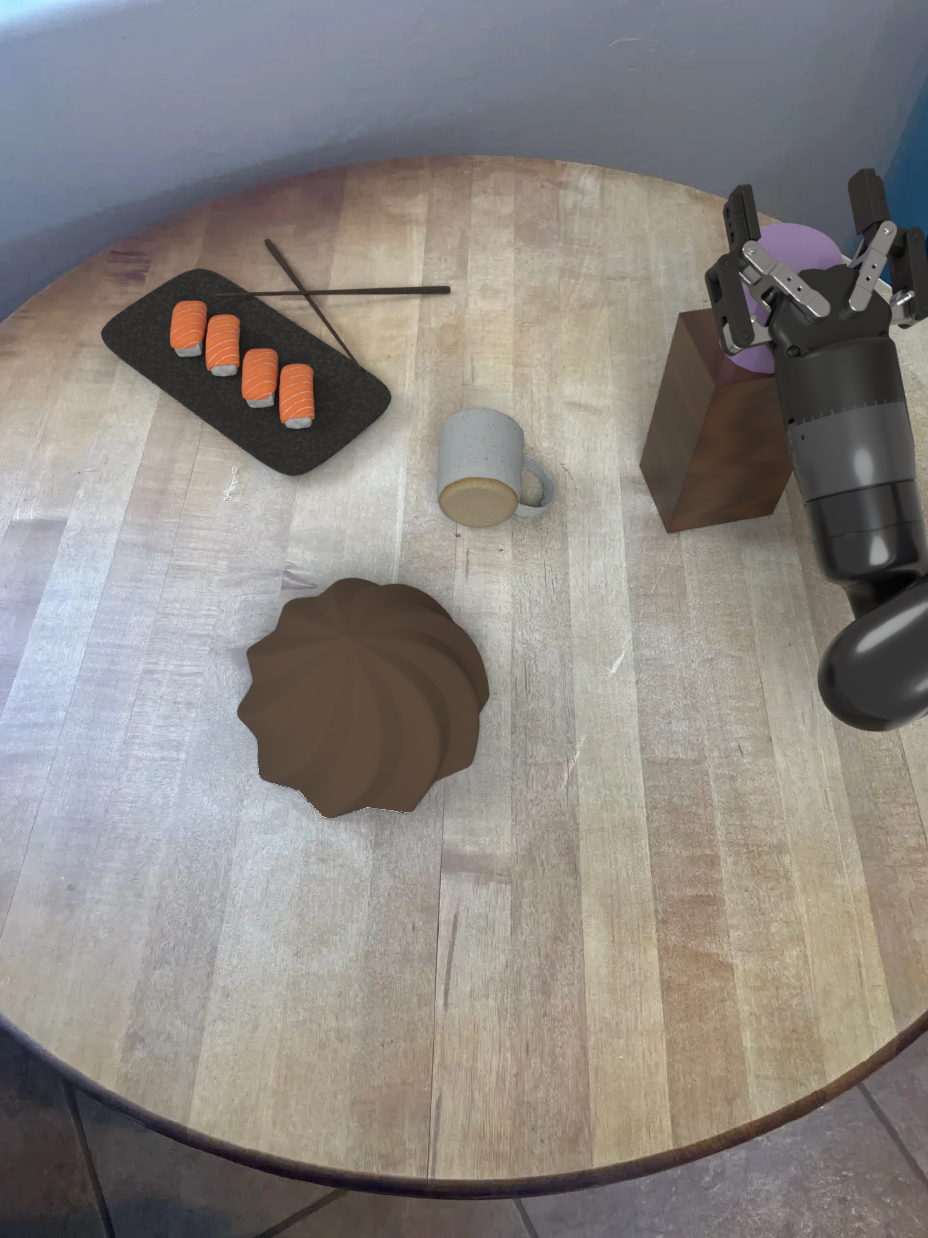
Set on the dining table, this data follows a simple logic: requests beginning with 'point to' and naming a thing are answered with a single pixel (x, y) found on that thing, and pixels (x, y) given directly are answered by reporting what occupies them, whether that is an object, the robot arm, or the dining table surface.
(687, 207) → the dining table surface
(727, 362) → the block
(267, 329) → the sushi plate
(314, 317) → the dining table surface
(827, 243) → the tumbler
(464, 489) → the ceramic mug
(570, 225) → the dining table surface
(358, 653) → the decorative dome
